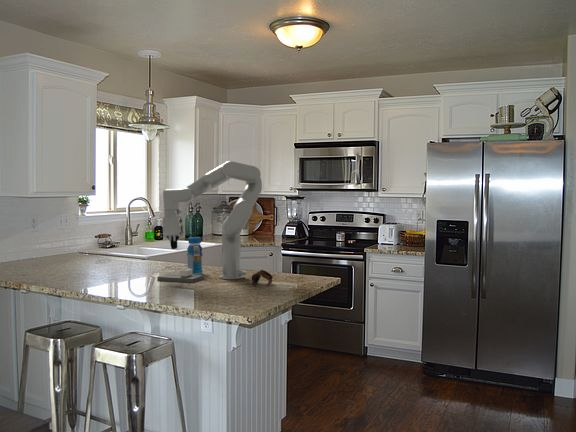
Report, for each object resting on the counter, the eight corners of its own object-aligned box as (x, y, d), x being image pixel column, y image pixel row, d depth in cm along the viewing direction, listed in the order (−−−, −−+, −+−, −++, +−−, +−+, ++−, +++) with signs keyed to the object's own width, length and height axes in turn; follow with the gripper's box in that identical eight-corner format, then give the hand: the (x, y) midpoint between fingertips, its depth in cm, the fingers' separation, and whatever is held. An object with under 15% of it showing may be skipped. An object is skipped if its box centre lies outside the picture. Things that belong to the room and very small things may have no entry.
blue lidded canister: (184, 274, 282) (184, 237, 281) (191, 272, 290) (190, 236, 289) (199, 275, 280) (198, 238, 279) (205, 272, 288) (204, 236, 287)
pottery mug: (256, 283, 260) (264, 269, 260) (269, 293, 255) (278, 279, 255) (243, 280, 250) (251, 266, 249) (256, 291, 245) (265, 276, 244)
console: (203, 278, 269) (203, 274, 269) (192, 282, 258) (192, 278, 258) (169, 276, 275) (169, 272, 275) (157, 280, 264) (157, 276, 264)
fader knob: (192, 274, 268) (192, 267, 267) (186, 276, 262) (186, 269, 262) (185, 274, 269) (185, 267, 269) (179, 276, 263) (179, 269, 263)
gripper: (188, 212, 267) (190, 247, 269) (162, 213, 272) (165, 247, 273) (181, 213, 260) (183, 249, 261) (155, 214, 265) (157, 249, 266)
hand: (174, 248), depth 267 cm, fingers closed
